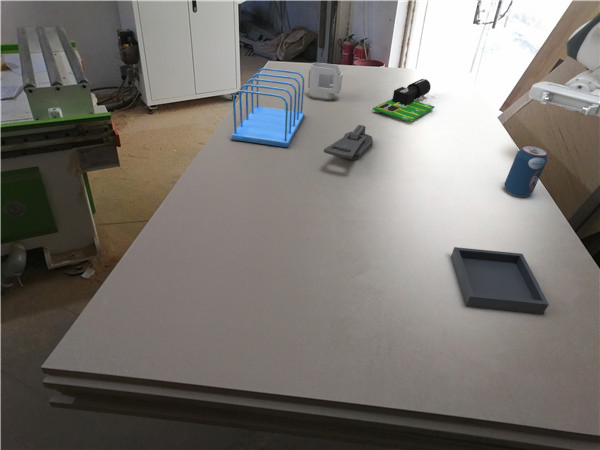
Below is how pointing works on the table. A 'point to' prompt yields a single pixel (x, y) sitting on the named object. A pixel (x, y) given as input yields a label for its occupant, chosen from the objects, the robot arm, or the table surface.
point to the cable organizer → (324, 81)
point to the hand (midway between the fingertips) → (563, 106)
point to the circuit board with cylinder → (407, 101)
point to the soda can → (526, 170)
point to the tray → (497, 281)
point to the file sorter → (269, 114)
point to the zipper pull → (351, 144)
